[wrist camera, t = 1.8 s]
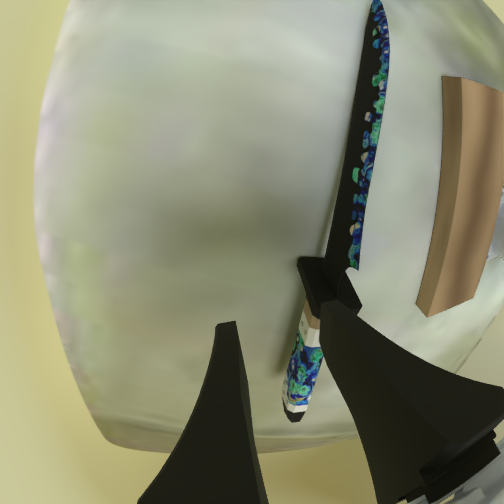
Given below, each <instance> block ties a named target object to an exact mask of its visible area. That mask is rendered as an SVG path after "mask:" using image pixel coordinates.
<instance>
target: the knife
mask: <svg viewBox="0 0 504 504" xmlns="http://www.w3.org/2000/svg"><path fill="white" fill-rule="evenodd" d="M389 57H390V44H389V31H388V24H387V18H386V15H385V11H384V8H383V5H382V2H381V1H380V0H373V2H372V4H371V8H370V13H369V17H368V22H367V26H366V32H365V39H364V45H363V51H362V58H361V64H360V71H359V77H358V83H357V89H356V95H355V101H354V107H353V113H352V119H351V124H350V130H349V135H348V141H347V147H346V153H345V159H344V164H343V169H342V175H341V180H340V185H339V190H338V195H337V200H336V204H335V209H334V214H333V219H332V225H331V230H330V235H329V240H328V245H327V249H326V254H325V258H311V257H301V258H300V259H299V261H298V264H297V267H298V270H299V273H300V276H301V279H302V282H303V285H304V288H305V291H306V299H305V303H304V307H303V312H302V316H301V320H300V324H299V328H298V332H297V335H296V339H295V343H294V347H293V351H292V354H291V358H290V362H289V365H288V369H287V373H286V376H285V380H284V383H283V387H282V399H283V406H284V412H285V414H286V415H287V417H288V419H289V420H290V421H291V422H292V423H293V422H300V420H301V419H302V417H303V415H304V413H305V412H306V409H307V406H308V403H309V400H310V397H311V394H312V391H313V388H314V385H315V382H316V379H317V376H318V372H319V369H320V366H321V363H322V359H323V356H324V355H323V352H322V350H321V347H320V344H319V330H320V314H321V303H324V302H328V301H332V300H336V299H337V300H338V301H339V302H341V303H342V304H343V305H344V306H346V307H347V308H348V309H350V310H351V311H352V312H353V313H355V314H356V315H357V314H358V313H359V311H360V309H361V308H362V304H361V302H360V300H359V298H358V296H357V294H356V292H355V290H354V288H353V286H352V284H351V282H350V280H349V278H348V276H347V274H346V272H345V271H346V269H347V268H348V267H353V268H355V269H356V270H359V260H360V248H361V240H362V231H363V223H364V216H365V208H366V202H367V197H368V192H369V186H370V181H371V176H372V171H373V166H374V160H375V155H376V150H377V144H378V139H379V133H380V128H381V122H382V116H383V110H384V104H385V97H386V90H387V82H388V72H389Z"/></svg>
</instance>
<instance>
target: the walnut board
mask: <svg viewBox="0 0 504 504" xmlns="http://www.w3.org/2000/svg"><path fill="white" fill-rule="evenodd" d="M442 89H443V147H442V164H441V176H440V186H439V194H438V202H437V209H436V216H435V222H434V228H433V234H432V239H431V244H430V249H429V254H428V259H427V263H426V268H425V272H424V276H423V280H422V284H421V288H420V291H419V295H418V299H417V302H416V305H417V307H418V308H419V309H420V310H421V311H422V312H423V313H424V315H425V316H426V317H430V316H432V315H435V314H437V313H440V312H442V311H445V310H447V309H449V308H452V307H454V306H456V305H459V304H461V303H463V302H465V301H468V300H470V299H472V298H473V297H474V295H475V292H476V289H477V286H478V284H479V281H480V278H481V275H482V272H483V269H484V266H485V262H486V259H487V256H488V252H489V249H490V245H491V241H492V238H493V234H494V229H495V225H496V221H497V216H498V211H499V206H500V201H501V195H502V189H503V183H504V93H503V92H501V91H498V90H496V89H493V88H491V87H488V86H485V85H482V84H480V83H477V82H474V81H471V80H468V79H465V78H461V77H447V76H442Z"/></svg>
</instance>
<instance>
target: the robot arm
mask: <svg viewBox="0 0 504 504" xmlns="http://www.w3.org/2000/svg"><path fill="white" fill-rule="evenodd" d="M498 256H499V257H501V258H502V259H503V260H504V188H503V189H502V195H501V201H500V206H499V211H498V216H497V221H496V225H495V229H494V234H493V238H492V241H491V245H490V249H489V252H488V256H487V259H486V261H488V260H491V259H493V258H496V257H498ZM319 344H320V347H321V350H322V352H323V355H324V358H325V361H326V364H327V366H328V368H329V370H330V372H331V374H332V376H333V378H334V380H335V382H336V384H337V386H338V388H339V390H340V392H341V394H342V396H343V398H344V400H345V402H346V404H347V406H348V408H349V410H350V412H351V414H352V416H353V419H354V422H355V424H356V427H357V430H358V433H359V436H360V439H361V442H362V444H363V448H364V451H365V454H366V457H367V461H368V465H369V468H370V472H371V476H372V480H373V484H374V489H375V493H376V498H377V503H378V504H397V503H398V502H401V501H403V500H405V499H406V500H407V503H408V504H439V503H440V502H442V501H443V500H445V499H446V498H448V497H449V496H451V495H452V494H454V493H455V495H454V498H453V499H452V500H450V501H448V502H446V503H444V504H504V438H503V439H502V440H500V441H499V442H498V443H497V444H495V442H494V440H493V439H494V438H495V437H496V433H495V432H494V430H493V429H494V428H495V427H496V426H497V425H498V424H499V423H500V422H501V421H502V420H503V419H504V389H503V388H502V387H500V386H495V385H490V384H486V383H482V382H478V381H474V380H471V379H468V378H465V377H461V376H459V375H456V374H454V373H451V372H448V371H446V370H444V369H441V368H439V367H437V366H435V365H433V364H430V363H428V362H426V361H424V360H423V359H421V358H419V357H417V356H415V355H413V354H412V353H410V352H408V351H406V350H405V349H403V348H402V347H400V346H398V345H397V344H395V343H394V342H392V341H391V340H389V339H388V338H386V337H385V336H384V335H382V334H381V333H379V332H378V331H377V330H375V329H374V328H373V327H371V326H370V325H369V324H367V323H366V322H365V321H363V320H362V319H361V318H360V317H358V316H357V315H356V314H355V313H353V312H352V311H351V310H350V309H348V308H347V307H346V306H344V305H343V304H342V303H341V302H339V301H338V300H337V299H336V300H332V301H328V302H324V303H321V314H320V330H319ZM137 504H269V503H268V499H267V495H266V490H265V486H264V482H263V478H262V473H261V469H260V465H259V460H258V457H257V451H256V447H255V441H254V435H253V426H252V417H251V407H250V397H249V388H248V380H247V375H246V370H245V365H244V360H243V356H242V351H241V346H240V341H239V336H238V331H237V326H236V321H231V322H225V323H220V324H217V326H216V327H215V338H214V344H213V349H212V354H211V358H210V362H209V366H208V369H207V373H206V376H205V379H204V382H203V385H202V388H201V391H200V394H199V397H198V399H197V402H196V405H195V407H194V409H193V412H192V414H191V416H190V419H189V421H188V423H187V425H186V427H185V429H184V431H183V433H182V435H181V437H180V439H179V441H178V442H177V444H176V446H175V448H174V450H173V451H172V453H171V454H170V456H169V458H168V459H167V461H166V462H165V464H164V466H163V467H162V469H161V470H160V472H159V473H158V475H157V476H156V477H155V479H154V480H153V481H152V483H151V484H150V485H149V487H148V488H147V489H146V490H145V492H144V493H143V494H142V496H141V497H140V498H139V499H138V502H137Z"/></svg>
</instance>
